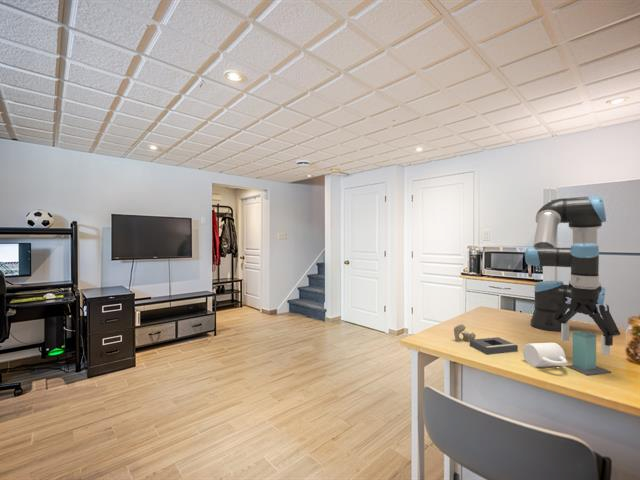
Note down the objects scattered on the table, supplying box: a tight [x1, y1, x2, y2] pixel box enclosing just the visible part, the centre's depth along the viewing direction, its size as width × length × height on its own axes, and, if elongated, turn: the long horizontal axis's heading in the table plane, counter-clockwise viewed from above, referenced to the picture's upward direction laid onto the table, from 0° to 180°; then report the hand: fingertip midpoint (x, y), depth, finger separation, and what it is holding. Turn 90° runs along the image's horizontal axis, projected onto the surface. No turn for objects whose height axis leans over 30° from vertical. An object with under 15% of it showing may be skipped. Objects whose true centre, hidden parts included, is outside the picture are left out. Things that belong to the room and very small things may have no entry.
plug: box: [571, 330, 597, 370], centre depth 108 cm, size 5×5×12 cm
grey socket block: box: [469, 336, 519, 355], centre depth 126 cm, size 14×10×3 cm
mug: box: [522, 342, 568, 368], centre depth 109 cm, size 12×10×8 cm
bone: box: [453, 323, 476, 343], centre depth 135 cm, size 9×6×10 cm
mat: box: [565, 364, 612, 377], centre depth 108 cm, size 10×10×1 cm
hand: (584, 347), depth 108 cm, fingers open, 13 cm apart
